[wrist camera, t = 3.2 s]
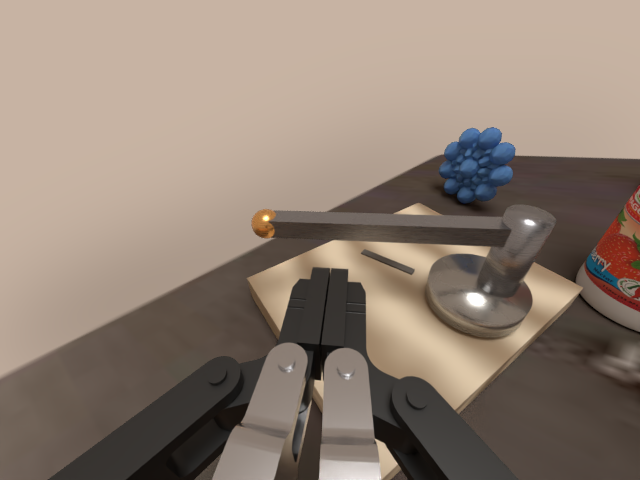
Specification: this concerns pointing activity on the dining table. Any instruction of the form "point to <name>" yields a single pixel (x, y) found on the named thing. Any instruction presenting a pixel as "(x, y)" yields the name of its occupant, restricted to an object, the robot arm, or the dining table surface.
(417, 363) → the stand
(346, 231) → the metal faucet
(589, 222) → the dining table surface
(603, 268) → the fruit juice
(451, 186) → the grapes
